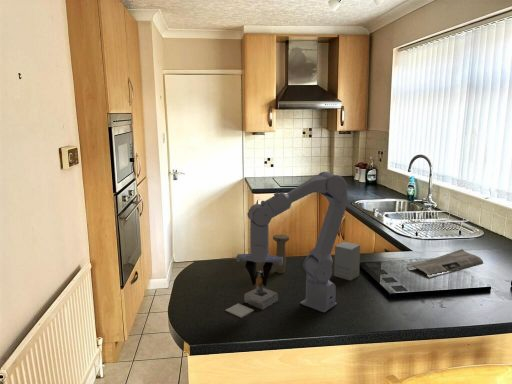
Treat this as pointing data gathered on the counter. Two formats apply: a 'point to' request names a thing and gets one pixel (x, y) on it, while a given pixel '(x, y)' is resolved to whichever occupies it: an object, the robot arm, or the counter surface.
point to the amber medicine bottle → (259, 282)
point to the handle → (281, 251)
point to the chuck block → (261, 298)
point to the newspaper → (447, 262)
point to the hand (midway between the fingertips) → (259, 284)
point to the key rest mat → (239, 310)
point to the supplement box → (347, 260)
